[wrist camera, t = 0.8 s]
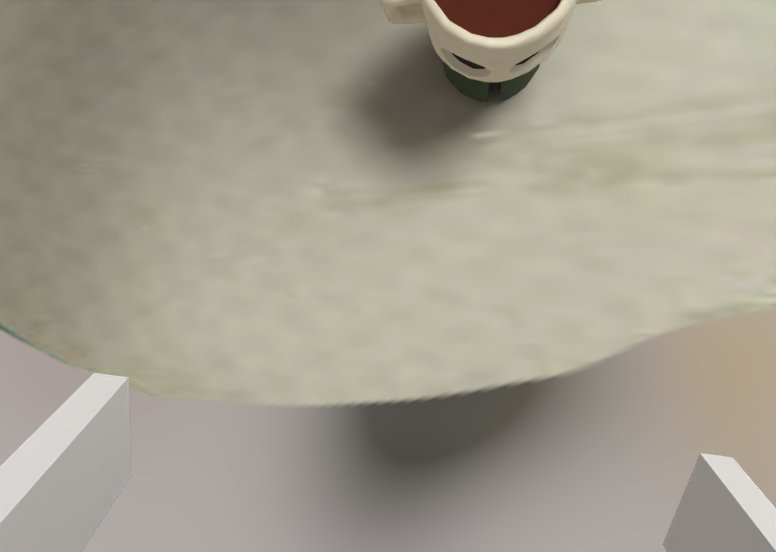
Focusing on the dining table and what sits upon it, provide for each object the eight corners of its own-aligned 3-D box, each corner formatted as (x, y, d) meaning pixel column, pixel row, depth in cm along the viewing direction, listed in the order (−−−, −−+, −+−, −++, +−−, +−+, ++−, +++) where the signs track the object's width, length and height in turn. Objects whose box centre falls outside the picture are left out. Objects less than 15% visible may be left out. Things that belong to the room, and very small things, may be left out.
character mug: (409, 117, 37) (374, 63, 24) (403, 5, 36) (363, -113, 23) (581, 101, 35) (643, 34, 22) (578, -17, 34) (640, -156, 22)
